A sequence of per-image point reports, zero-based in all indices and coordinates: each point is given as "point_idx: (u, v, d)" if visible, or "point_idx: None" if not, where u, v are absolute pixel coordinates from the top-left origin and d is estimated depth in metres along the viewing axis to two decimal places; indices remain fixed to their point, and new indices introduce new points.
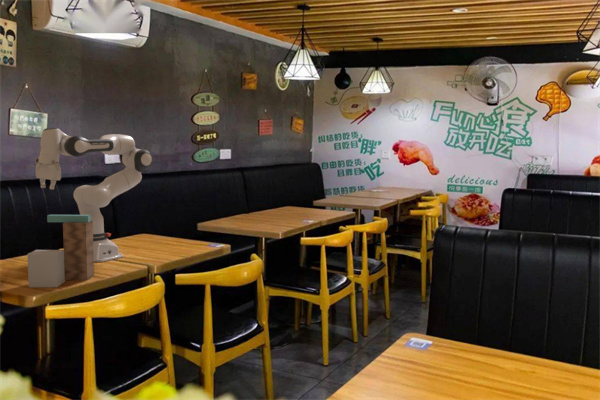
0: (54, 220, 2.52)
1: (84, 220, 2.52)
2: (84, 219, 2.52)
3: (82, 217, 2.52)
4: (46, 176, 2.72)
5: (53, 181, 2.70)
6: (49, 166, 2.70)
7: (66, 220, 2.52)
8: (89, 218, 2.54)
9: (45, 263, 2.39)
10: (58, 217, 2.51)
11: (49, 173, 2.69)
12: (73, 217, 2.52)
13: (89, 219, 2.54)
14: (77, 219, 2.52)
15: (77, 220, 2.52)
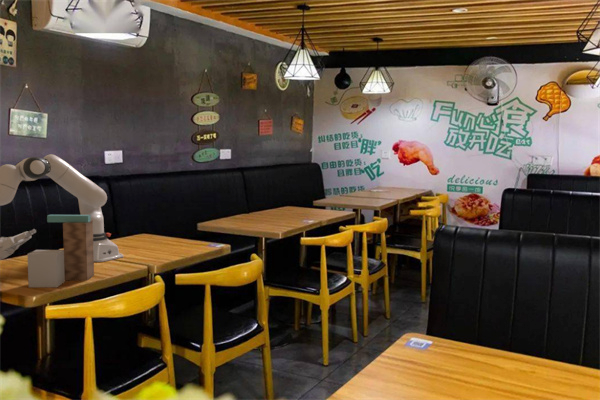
0: (54, 220, 2.52)
1: (84, 220, 2.52)
2: (84, 219, 2.52)
3: (82, 217, 2.52)
4: (19, 242, 2.52)
5: (17, 239, 2.47)
6: (7, 249, 2.49)
7: (66, 220, 2.52)
8: (89, 218, 2.54)
9: (45, 263, 2.39)
10: (58, 217, 2.51)
11: (12, 246, 2.48)
12: (73, 217, 2.52)
13: (89, 219, 2.54)
14: (77, 219, 2.52)
15: (77, 220, 2.52)
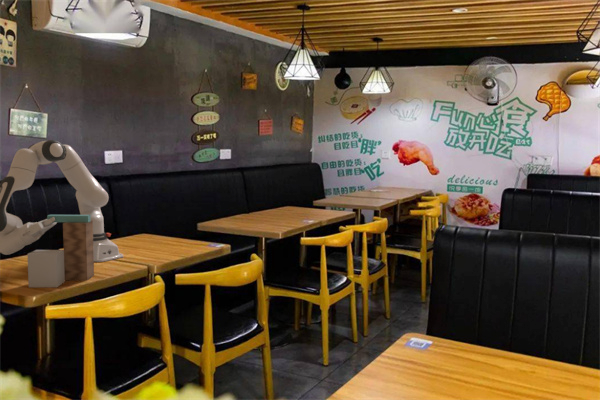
0: None
1: (84, 220, 2.52)
2: (84, 219, 2.52)
3: (82, 217, 2.52)
4: (46, 227, 2.52)
5: (46, 223, 2.49)
6: (34, 234, 2.49)
7: (66, 220, 2.52)
8: (89, 218, 2.54)
9: (45, 263, 2.39)
10: (58, 217, 2.52)
11: (39, 231, 2.48)
12: (73, 217, 2.52)
13: (89, 219, 2.54)
14: (77, 219, 2.52)
15: (77, 220, 2.52)
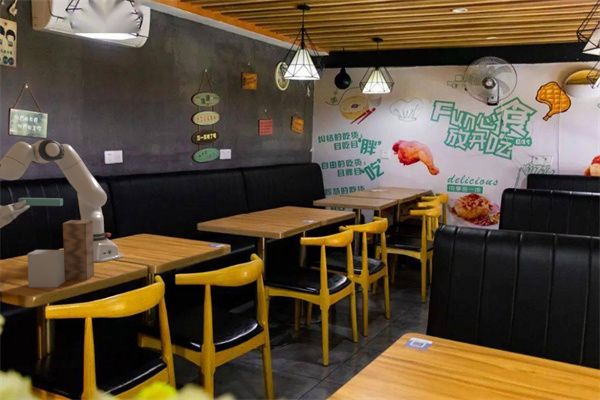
0: None
1: (56, 203, 2.48)
2: (56, 202, 2.48)
3: (54, 201, 2.48)
4: (17, 211, 2.47)
5: (16, 206, 2.45)
6: (4, 217, 2.45)
7: (38, 203, 2.48)
8: (61, 202, 2.50)
9: (45, 263, 2.39)
10: (29, 200, 2.47)
11: (10, 214, 2.44)
12: (45, 200, 2.48)
13: (61, 203, 2.50)
14: (49, 202, 2.48)
15: (49, 203, 2.48)
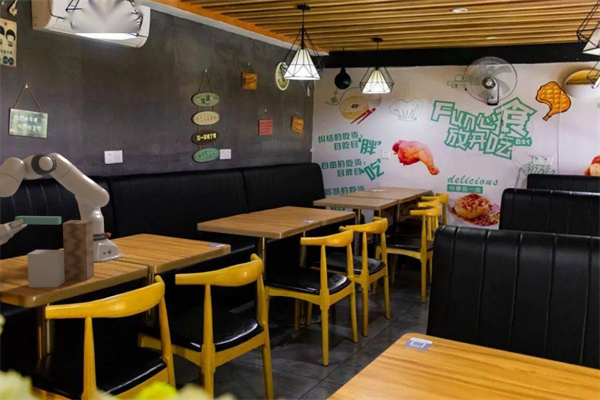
0: None
1: (54, 222, 2.40)
2: (54, 221, 2.40)
3: (52, 219, 2.40)
4: (14, 230, 2.39)
5: (13, 225, 2.36)
6: (0, 236, 2.37)
7: (35, 222, 2.39)
8: (59, 220, 2.42)
9: (45, 263, 2.39)
10: (27, 219, 2.39)
11: (6, 233, 2.36)
12: (42, 219, 2.39)
13: (59, 221, 2.41)
14: (47, 221, 2.40)
15: (47, 222, 2.40)
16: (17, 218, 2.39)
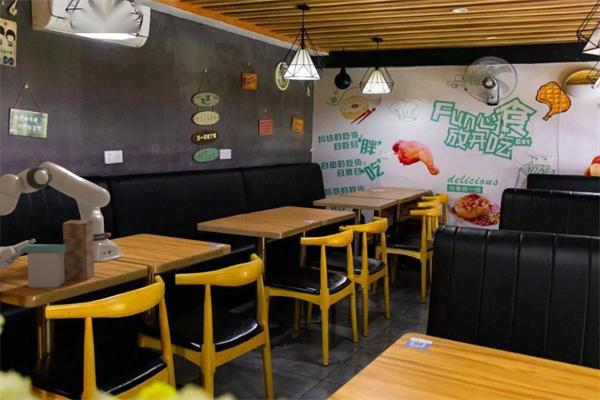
0: (28, 250, 2.40)
1: (59, 250, 2.41)
2: (59, 249, 2.41)
3: (57, 247, 2.41)
4: (19, 252, 2.40)
5: (18, 249, 2.37)
6: (6, 260, 2.38)
7: (40, 250, 2.41)
8: (64, 248, 2.43)
9: (45, 263, 2.39)
10: (32, 247, 2.40)
11: (12, 256, 2.37)
12: (47, 247, 2.41)
13: (64, 249, 2.43)
14: (52, 249, 2.41)
15: (52, 250, 2.41)
16: None
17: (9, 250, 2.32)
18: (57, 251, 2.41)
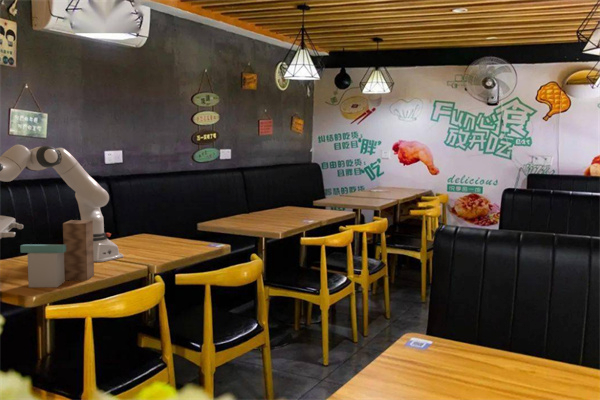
0: (28, 250, 2.40)
1: (59, 250, 2.41)
2: (59, 249, 2.41)
3: (57, 247, 2.41)
4: None
5: (3, 235, 2.37)
6: None
7: (40, 250, 2.41)
8: (64, 248, 2.43)
9: (45, 263, 2.39)
10: (32, 247, 2.40)
11: None
12: (47, 247, 2.41)
13: (64, 249, 2.43)
14: (52, 249, 2.41)
15: (52, 250, 2.41)
16: (22, 247, 2.40)
17: None
18: (57, 251, 2.41)
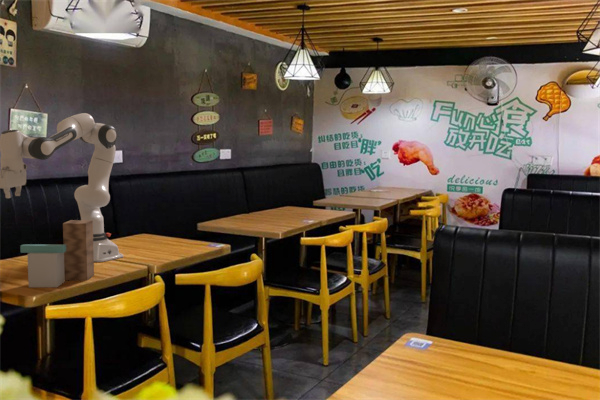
0: (28, 250, 2.40)
1: (59, 250, 2.41)
2: (59, 249, 2.41)
3: (57, 247, 2.41)
4: None
5: (5, 189, 2.44)
6: None
7: (40, 250, 2.41)
8: (64, 248, 2.43)
9: (45, 263, 2.39)
10: (32, 247, 2.40)
11: None
12: (47, 247, 2.41)
13: (64, 249, 2.43)
14: (52, 249, 2.41)
15: (52, 250, 2.41)
16: (22, 247, 2.40)
17: (4, 187, 2.41)
18: (57, 251, 2.41)
